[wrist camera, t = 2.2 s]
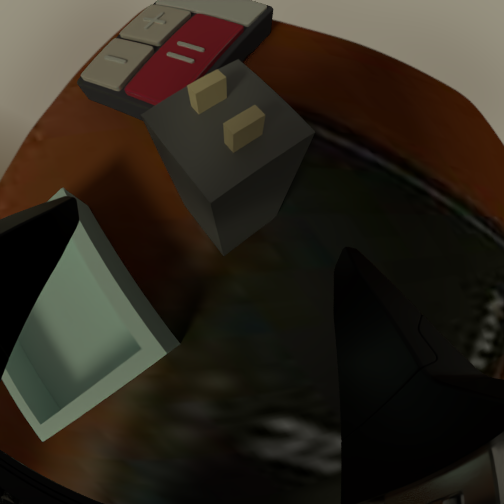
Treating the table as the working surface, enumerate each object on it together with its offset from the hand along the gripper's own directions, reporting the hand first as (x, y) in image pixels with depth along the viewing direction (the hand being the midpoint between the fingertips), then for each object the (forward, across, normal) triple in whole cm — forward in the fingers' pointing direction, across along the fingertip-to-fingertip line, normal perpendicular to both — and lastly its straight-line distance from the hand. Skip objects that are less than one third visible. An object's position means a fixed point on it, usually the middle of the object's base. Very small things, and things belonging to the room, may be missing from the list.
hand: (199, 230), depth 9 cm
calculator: (+21, +8, -4) cm, 22 cm away
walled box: (+3, +10, +12) cm, 16 cm away
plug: (+10, 0, +5) cm, 11 cm away
